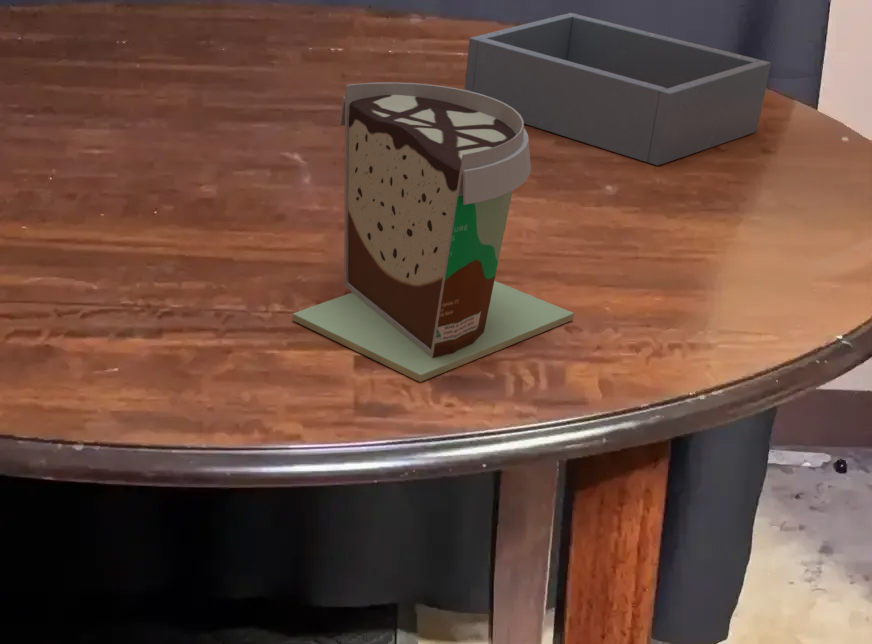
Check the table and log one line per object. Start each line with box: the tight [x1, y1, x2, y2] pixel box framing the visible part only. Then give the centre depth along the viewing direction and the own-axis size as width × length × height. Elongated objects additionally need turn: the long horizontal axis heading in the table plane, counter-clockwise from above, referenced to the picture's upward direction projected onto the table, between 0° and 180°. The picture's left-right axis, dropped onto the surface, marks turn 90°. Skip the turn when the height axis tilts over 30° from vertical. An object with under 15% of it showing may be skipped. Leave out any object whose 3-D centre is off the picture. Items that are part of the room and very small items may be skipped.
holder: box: [464, 12, 772, 167], centre depth 102 cm, size 17×11×4 cm, turn 39°
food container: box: [338, 81, 532, 358], centre depth 73 cm, size 12×6×10 cm, turn 22°
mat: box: [292, 280, 575, 383], centre depth 76 cm, size 9×11×1 cm
